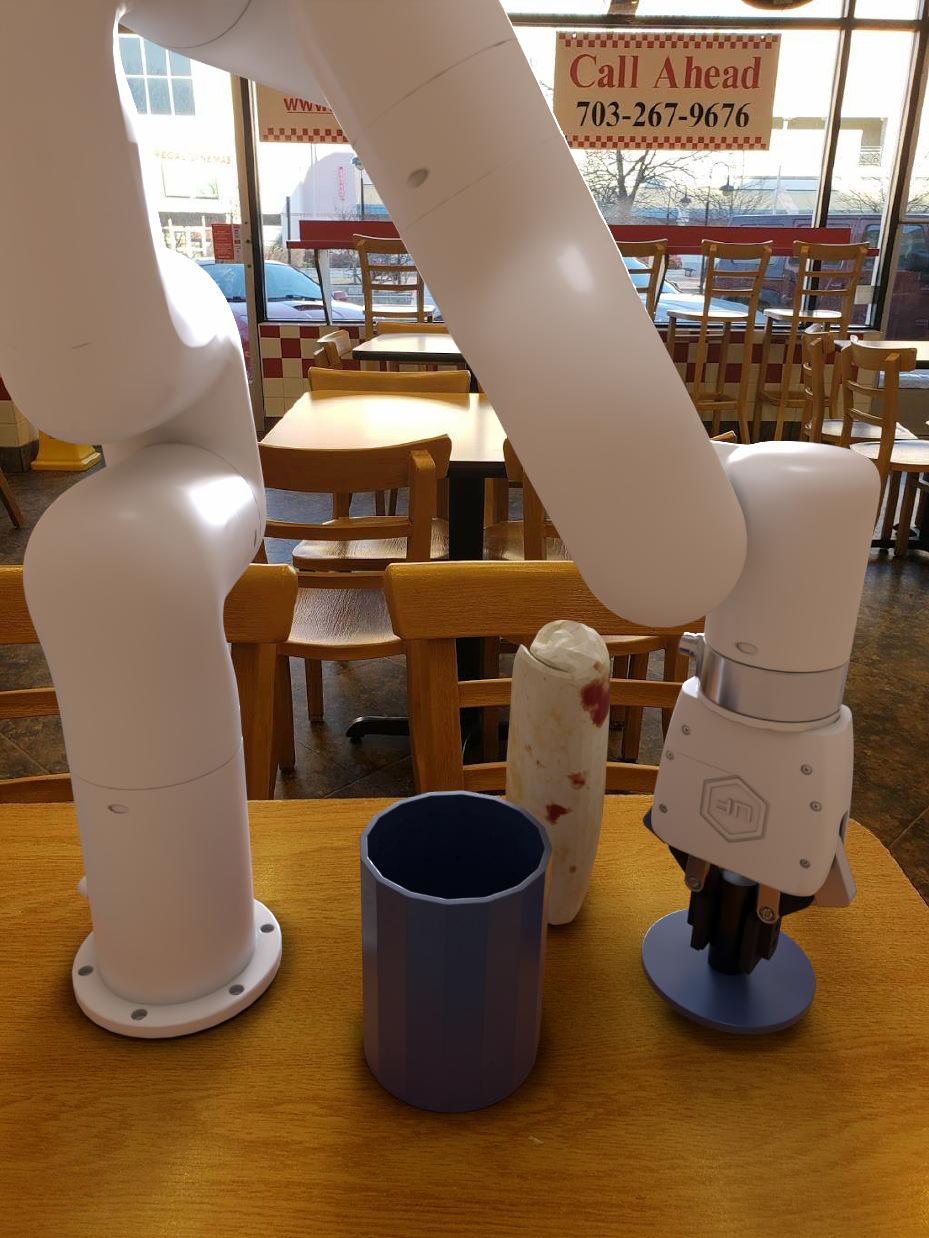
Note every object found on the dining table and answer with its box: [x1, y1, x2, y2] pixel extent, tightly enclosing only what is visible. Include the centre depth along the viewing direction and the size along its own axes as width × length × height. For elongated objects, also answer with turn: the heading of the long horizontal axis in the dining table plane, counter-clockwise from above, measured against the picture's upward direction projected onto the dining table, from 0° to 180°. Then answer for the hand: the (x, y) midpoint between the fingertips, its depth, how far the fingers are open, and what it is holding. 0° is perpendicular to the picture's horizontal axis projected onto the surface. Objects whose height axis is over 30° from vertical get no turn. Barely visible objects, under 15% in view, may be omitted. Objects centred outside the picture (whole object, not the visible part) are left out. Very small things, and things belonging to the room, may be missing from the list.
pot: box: [359, 790, 553, 1114], centre depth 52 cm, size 10×10×14 cm
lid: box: [640, 868, 817, 1035], centre depth 57 cm, size 10×10×8 cm
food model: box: [505, 619, 611, 926], centre depth 63 cm, size 10×7×20 cm
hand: (729, 946), depth 57 cm, fingers closed on lid, 2 cm apart
